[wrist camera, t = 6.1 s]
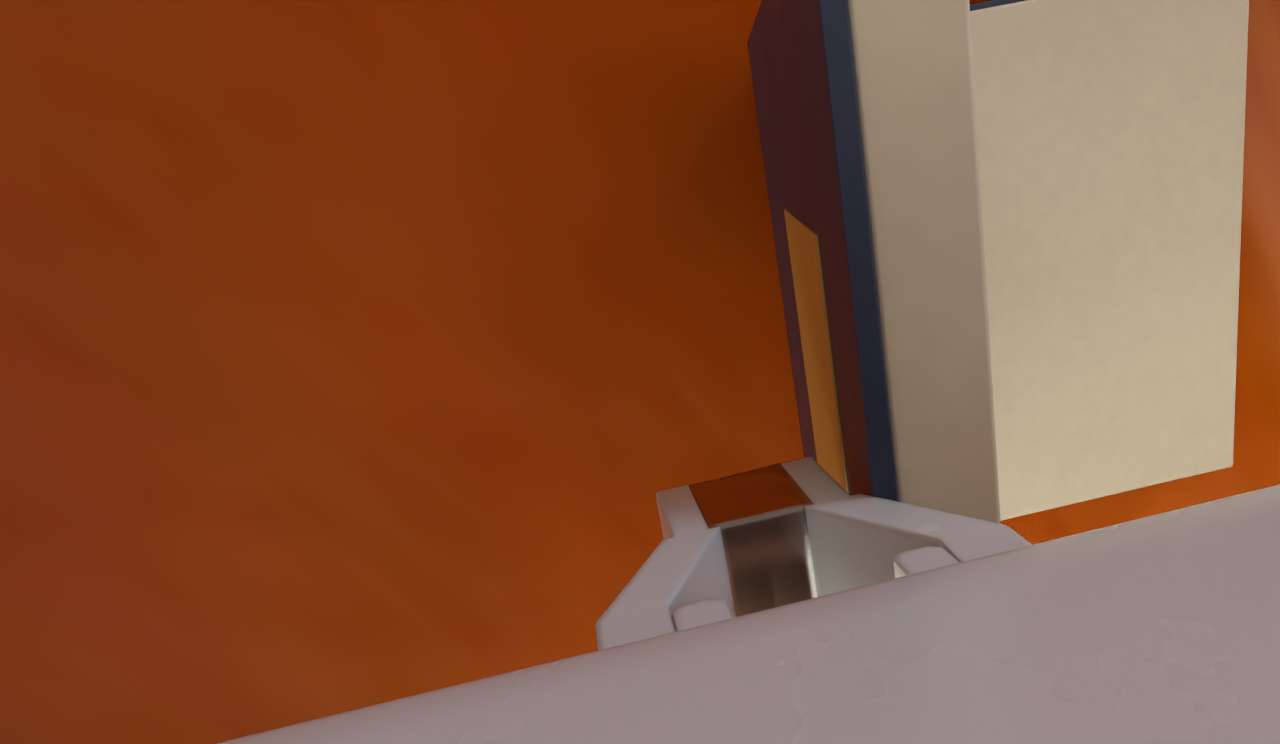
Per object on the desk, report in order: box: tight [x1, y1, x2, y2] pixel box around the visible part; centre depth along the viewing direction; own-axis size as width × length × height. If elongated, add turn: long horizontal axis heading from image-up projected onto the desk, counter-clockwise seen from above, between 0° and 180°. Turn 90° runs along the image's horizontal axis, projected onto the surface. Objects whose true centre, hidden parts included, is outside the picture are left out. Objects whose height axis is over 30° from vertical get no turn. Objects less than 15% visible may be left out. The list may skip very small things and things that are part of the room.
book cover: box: [748, 0, 1001, 524], centre depth 16 cm, size 13×16×2 cm
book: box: [970, 0, 1249, 521], centre depth 23 cm, size 13×16×2 cm
